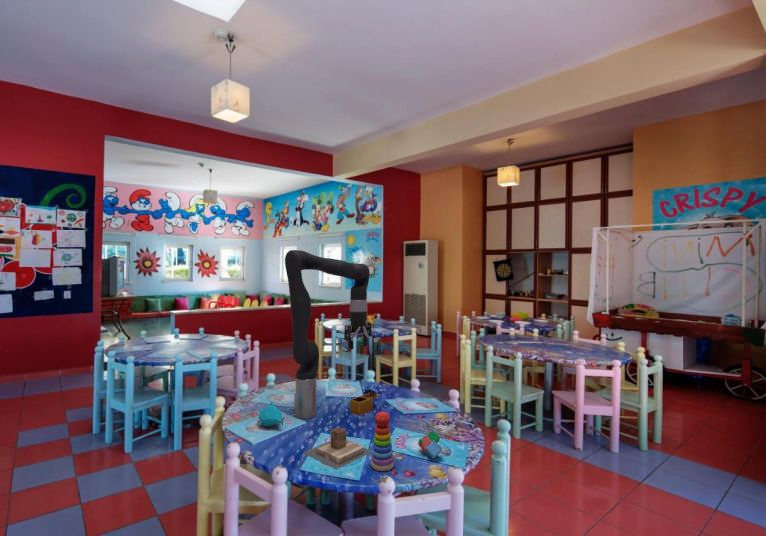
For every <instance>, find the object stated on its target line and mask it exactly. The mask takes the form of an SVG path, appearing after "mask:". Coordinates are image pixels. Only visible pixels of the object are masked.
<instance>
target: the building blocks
mask: <svg viewBox="0 0 766 536" xmlns="http://www.w3.org/2000/svg"><path fill="white" fill-rule="evenodd" d="M440 440H441V438H440V436H439V435H438V434H437V433H436V432H435V430H433V429H432V430H431V431H429V433H428V434H424V435H423V437H422V438H419V439H418V442H417V445H418V447H420V449H421V450H422V451H423V452H424V453H426V454H428V455H429V456H430V457H431V458H432V459H433V460H434V459H436V457H437V456H438V455H439V454H440V453H441V452H442V447H441V446H440V445H439V444H438V443H439V441H440Z"/></svg>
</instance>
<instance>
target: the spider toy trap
mask: <svg viewBox="0 0 766 536" xmlns="http://www.w3.org/2000/svg"><path fill="white" fill-rule="evenodd" d="M379 397H381V394H380V393H376V392H375V391H374V390H372V389H366V390H364V392H363V393H362V395H360V396H359V395H358V396H357V397H353V398H351V399H349V414H352V415H356V416H362V415H365V414H368V413H370V412H373V410H374V399H376V398H379Z"/></svg>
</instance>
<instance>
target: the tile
mask: <svg viewBox="0 0 766 536" xmlns="http://www.w3.org/2000/svg"><path fill="white" fill-rule="evenodd" d="M329 442H330V441H329ZM326 443H327V442H326ZM324 444H325V443H324ZM322 445H323V444H322ZM319 446H320V445H319ZM317 447H318V446H317ZM364 448H365V447H364V446H362V445H360V444H357V443H355V442H352V441H350V440H348V439H346V447H344V448H341V449H339V450H337V449H335V448H332V447H331V442H330V443H327V444H325V445H323V446H320V447H318V448H317V454H319V455H321V456H323V457H325V458H327V459H329V460H331V461H333V462H335V463H337V464H341V463H343V462H346V461H348V460H350V459H352V458H354V457H356V456H358V455H360V454H362V453H364Z"/></svg>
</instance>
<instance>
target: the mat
mask: <svg viewBox="0 0 766 536" xmlns="http://www.w3.org/2000/svg"><path fill="white" fill-rule="evenodd" d="M330 442H331V440H329V441H328V442H325V443H322V444H320V445H318V446H316V447H313V448H311V449H309V450H306V451H304V452H302V454H304V455H306V456H307V457H310V458H312V459H314V460H316V461H317V462H320V463H322V464H324V465H325V466H327V467H330V468H332V469H333V470H339V469H341V468H343V467H345V466H346V465H349V464H351V463H353V462H355V461H357V460H359V459H361V458H363V457H365V456H367V455H369V454H372V450H371V449H368V448H366V447H364V453H362V454H360V455H358V456H356V457H354V458H352V459H350V460H348V461H346V462H343V463H341V464H337V463H335V462H333V461H331V460H329V459H327V458H325V457H323V456H321V455H319V454H317V448H318V447H320V446H323V445H325V444H327V443H330Z"/></svg>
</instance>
